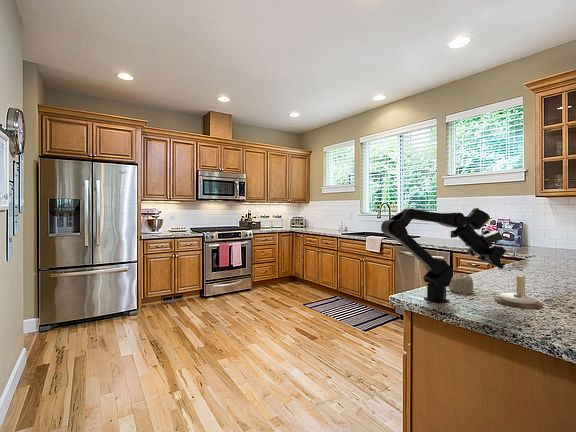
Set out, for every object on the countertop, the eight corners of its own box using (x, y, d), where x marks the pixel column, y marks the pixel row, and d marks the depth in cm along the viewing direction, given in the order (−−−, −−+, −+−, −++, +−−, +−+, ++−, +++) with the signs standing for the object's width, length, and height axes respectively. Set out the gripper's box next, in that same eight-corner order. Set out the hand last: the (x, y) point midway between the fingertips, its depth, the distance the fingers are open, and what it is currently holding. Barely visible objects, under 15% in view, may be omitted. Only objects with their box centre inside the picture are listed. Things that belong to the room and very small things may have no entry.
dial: (494, 299, 113) (494, 276, 113) (505, 294, 120) (505, 272, 120) (531, 306, 105) (531, 281, 105) (541, 300, 112) (541, 277, 112)
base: (532, 311, 103) (532, 307, 103) (487, 301, 115) (487, 298, 115) (549, 304, 110) (549, 301, 110) (505, 295, 122) (505, 293, 122)
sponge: (470, 303, 126) (484, 283, 126) (451, 290, 126) (465, 270, 126) (458, 297, 135) (471, 278, 135) (440, 284, 135) (453, 266, 135)
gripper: (500, 224, 107) (534, 256, 106) (475, 222, 126) (504, 250, 124) (476, 246, 108) (509, 278, 107) (455, 241, 127) (483, 268, 125)
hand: (501, 267), depth 116 cm, fingers closed
